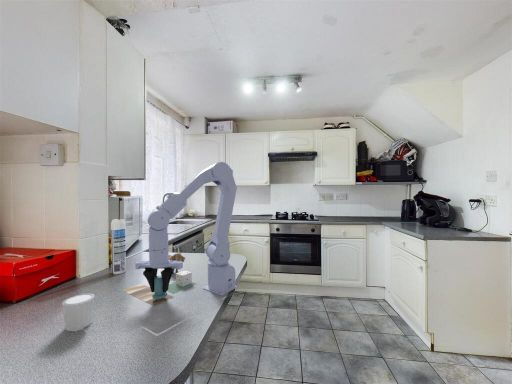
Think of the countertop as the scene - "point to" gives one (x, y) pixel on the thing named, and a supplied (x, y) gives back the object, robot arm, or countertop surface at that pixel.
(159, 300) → the track
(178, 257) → the lion figurine
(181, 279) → the die
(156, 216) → the robot arm
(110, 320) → the countertop surface
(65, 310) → the white cylinder
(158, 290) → the pawn
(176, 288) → the felt pad
